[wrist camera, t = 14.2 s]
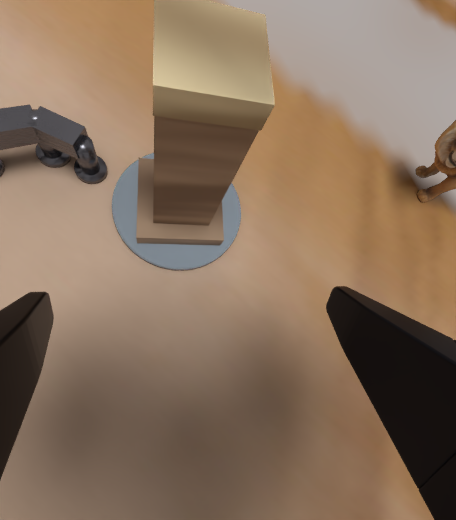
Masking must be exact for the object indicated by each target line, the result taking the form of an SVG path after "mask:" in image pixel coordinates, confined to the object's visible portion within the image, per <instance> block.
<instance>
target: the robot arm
mask: <svg viewBox="0 0 456 520" xmlns="http://www.w3.org/2000/svg"><path fill="white" fill-rule="evenodd" d="M326 310H327V313H328V315H329V318H330V320H331V323H332V325H333V327H334V330H335V332H336V335H337V337H338V339H339V342H340V344H341V346H342V348H343V350H344V352H345V354H346V356H347V358H348V360H349V362H350V364H351V365H352V367H353V369H354V371H355V373H356V375H357V377H358V378H359V380H360V382H361V384H362V386H363V388H364V390H365V391H366V393H367V395H368V397H369V399H370V401H371V403H372V404H373V406H374V408H375V410H376V412H377V414H378V415H379V417H380V419H381V421H382V423H383V425H384V427H385V428H386V430H387V432H388V434H389V436H390V438H391V440H392V441H393V443H394V445H395V447H396V449H397V451H398V453H399V454H400V456H401V458H402V460H403V462H404V464H405V466H406V467H407V469H408V471H409V473H410V475H411V477H412V478H413V480H414V482H415V484H416V486H417V488H419V492H420V494H421V496H422V497H423V499H424V501H425V503H426V505H427V507H428V509H429V510H430V512H431V514H432V516H433V518H434V520H456V340H453V339H452V338H450V337H448V336H446V335H444V334H442V333H440V332H438V331H436V330H434V329H432V328H430V327H428V326H426V325H423V324H421V323H419V322H417V321H415V320H413V319H411V318H409V317H407V316H405V315H403V314H401V313H399V312H397V311H395V310H393V309H391V308H389V307H387V306H385V305H383V304H381V303H379V302H377V301H375V300H373V299H371V298H369V297H366V296H364V295H362V294H360V293H358V292H356V291H354V290H352V289H350V288H348V287H345V286H337V287H334V288H333V290H332V292H331V294H330V297H329V299H328V302H327V305H326ZM52 325H53V311H52V306H51V302H50V297H49V294H48V293H47V292H30V293H28V294H26V295H24V296H23V297H21V298H20V299H18V300H16V301H15V302H13V303H12V304H10V305H8V306H7V307H5V308H4V309H2V310H1V311H0V479H1V477H2V474H3V471H4V469H5V466H6V464H7V461H8V458H9V456H10V453H11V450H12V448H13V445H14V443H15V440H16V437H17V435H18V432H19V429H20V427H21V424H22V422H23V419H24V416H25V414H26V411H27V408H28V406H29V403H30V401H31V398H32V395H33V393H34V390H35V387H36V385H37V382H38V379H39V376H40V374H41V370H42V366H43V362H44V358H45V354H46V350H47V346H48V342H49V338H50V334H51V329H52Z"/></svg>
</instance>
